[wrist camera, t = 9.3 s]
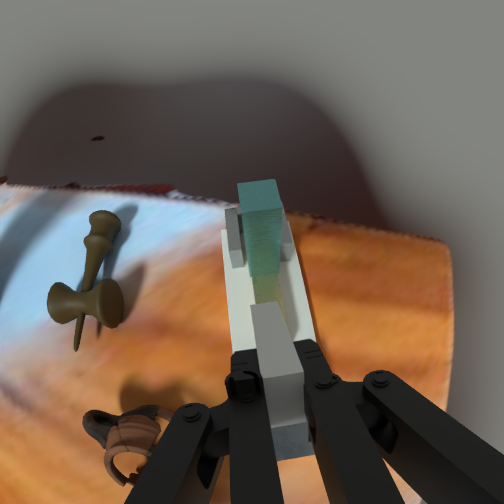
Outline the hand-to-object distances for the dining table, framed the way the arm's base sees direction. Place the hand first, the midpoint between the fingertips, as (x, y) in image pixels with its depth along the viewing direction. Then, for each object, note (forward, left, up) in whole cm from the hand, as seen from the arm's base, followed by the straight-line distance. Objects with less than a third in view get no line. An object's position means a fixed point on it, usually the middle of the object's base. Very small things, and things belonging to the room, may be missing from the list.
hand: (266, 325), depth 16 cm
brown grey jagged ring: (-1, -16, -17) cm, 23 cm away
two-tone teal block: (-7, +5, -15) cm, 17 cm away
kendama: (-22, -12, -17) cm, 30 cm away
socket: (-13, +9, -16) cm, 22 cm away
